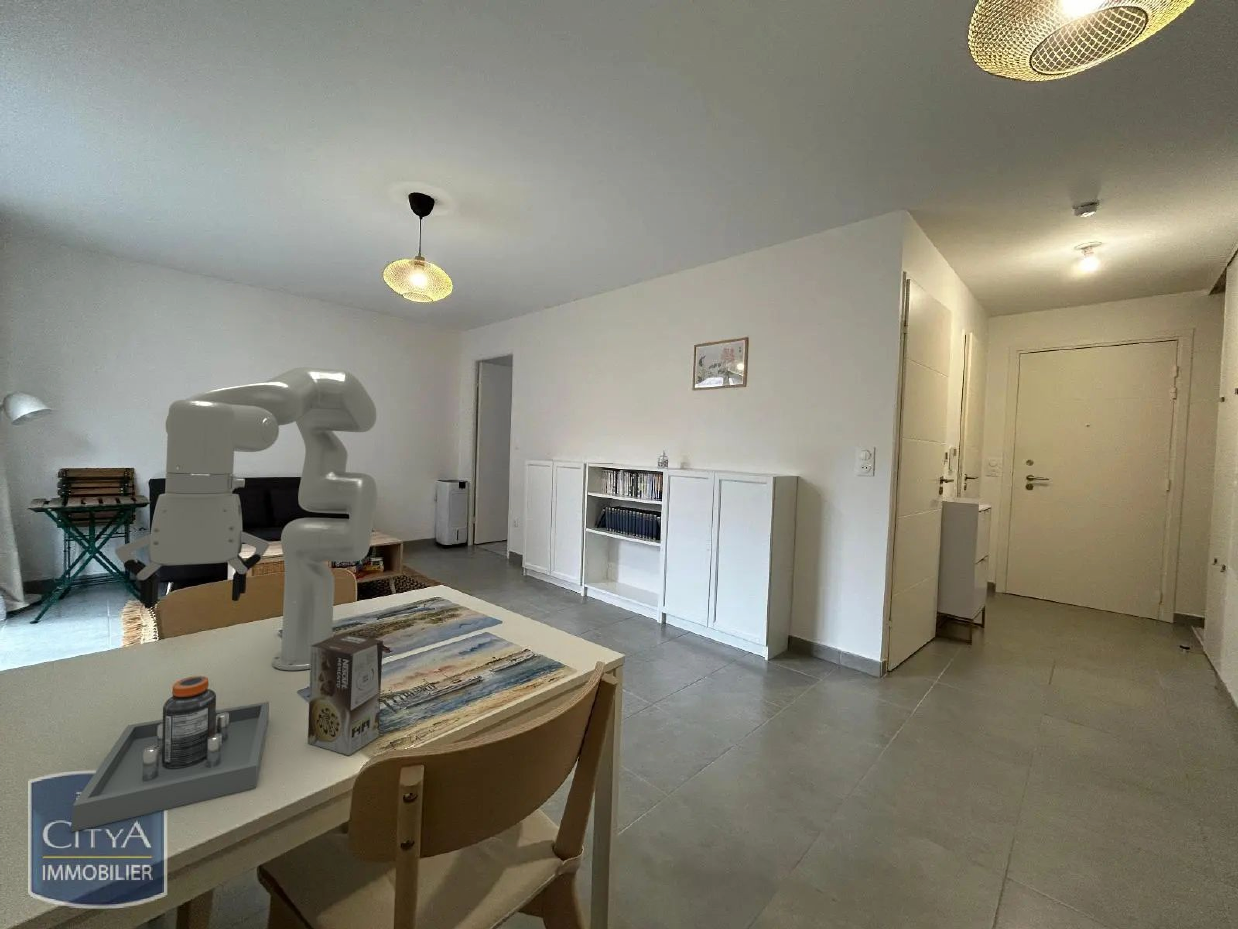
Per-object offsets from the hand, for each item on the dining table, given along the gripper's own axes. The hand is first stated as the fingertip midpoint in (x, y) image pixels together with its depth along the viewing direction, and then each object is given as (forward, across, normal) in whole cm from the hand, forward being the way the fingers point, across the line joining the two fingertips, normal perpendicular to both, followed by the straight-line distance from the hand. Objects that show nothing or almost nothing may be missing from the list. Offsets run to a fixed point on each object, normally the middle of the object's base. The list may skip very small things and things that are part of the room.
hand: (195, 602), depth 73 cm
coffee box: (+24, -20, +2) cm, 32 cm away
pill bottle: (+23, 0, 0) cm, 23 cm away
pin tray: (+24, 0, 0) cm, 24 cm away
